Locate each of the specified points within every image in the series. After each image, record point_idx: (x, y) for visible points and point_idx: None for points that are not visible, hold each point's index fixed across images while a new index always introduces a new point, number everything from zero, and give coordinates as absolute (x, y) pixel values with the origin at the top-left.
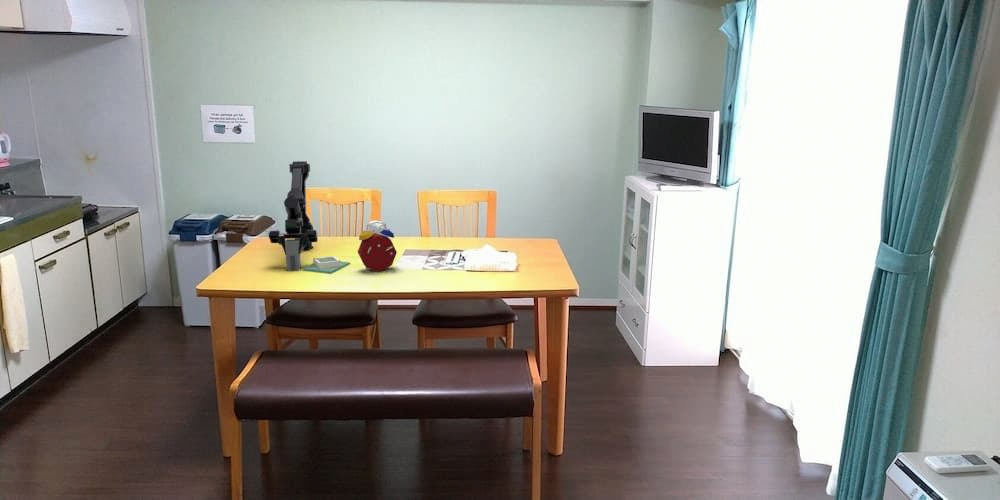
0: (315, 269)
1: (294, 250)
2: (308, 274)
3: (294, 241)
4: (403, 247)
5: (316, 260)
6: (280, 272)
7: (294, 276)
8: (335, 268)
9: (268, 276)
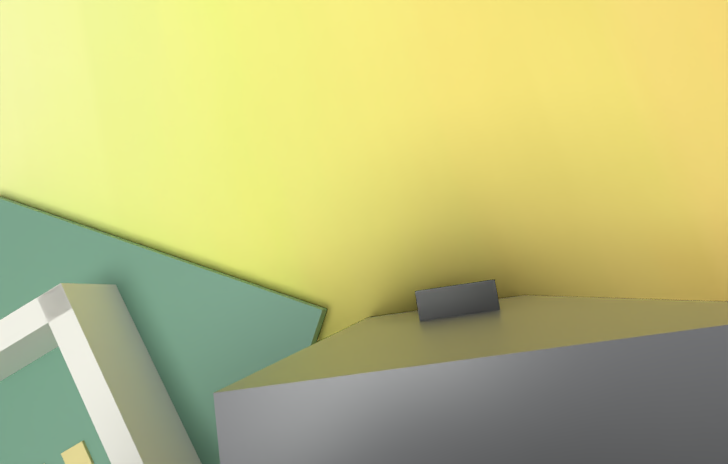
0: (160, 275)
1: (409, 331)
2: (226, 153)
3: (378, 395)
4: None
5: (122, 445)
6: (581, 215)
7: (360, 67)
8: None
9: (668, 40)
